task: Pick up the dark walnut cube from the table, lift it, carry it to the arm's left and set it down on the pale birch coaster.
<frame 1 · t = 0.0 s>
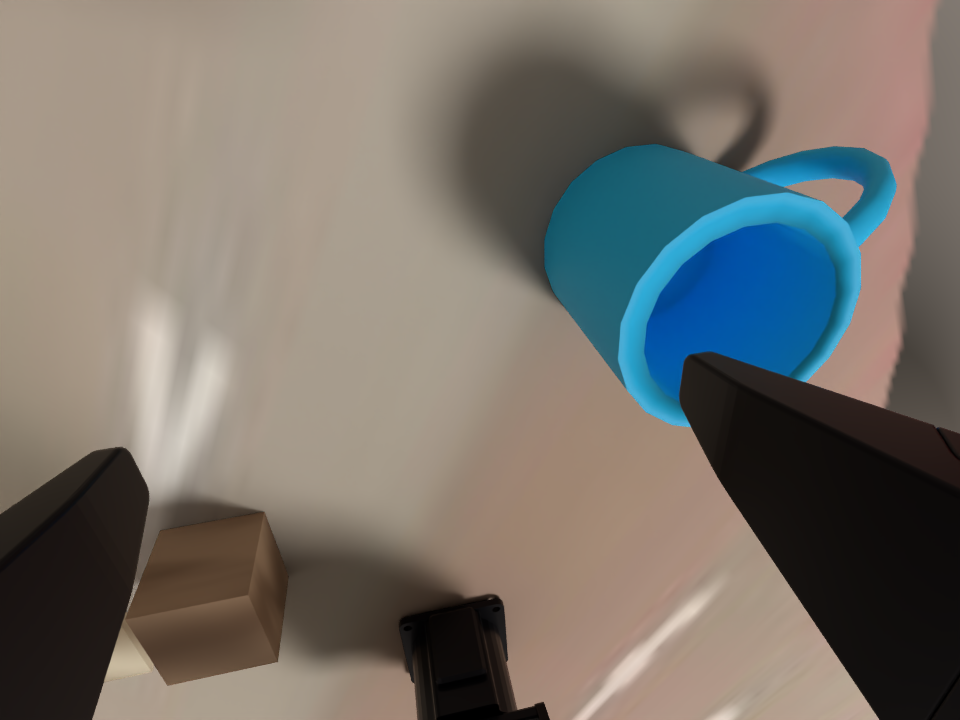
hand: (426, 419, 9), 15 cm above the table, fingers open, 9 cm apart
birch coaster: (18, 623, 29), on the table
mug: (669, 216, 24), on the table
walnut cube: (228, 553, 29), on the table
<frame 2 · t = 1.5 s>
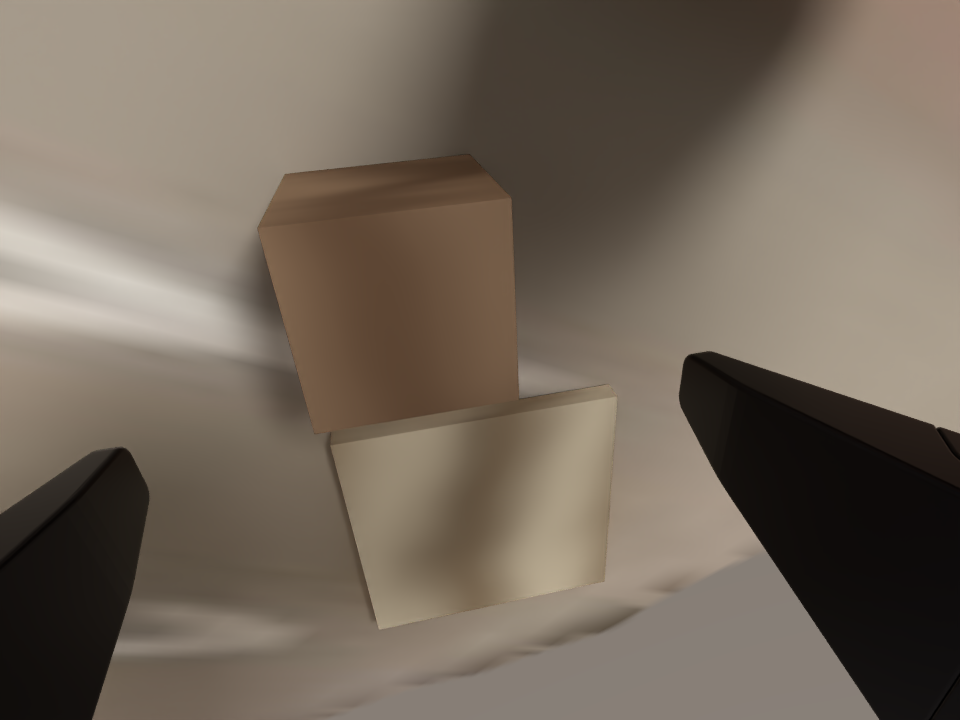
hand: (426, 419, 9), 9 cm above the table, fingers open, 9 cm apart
birch coaster: (483, 508, 22), on the table
walnut cube: (392, 250, 17), on the table
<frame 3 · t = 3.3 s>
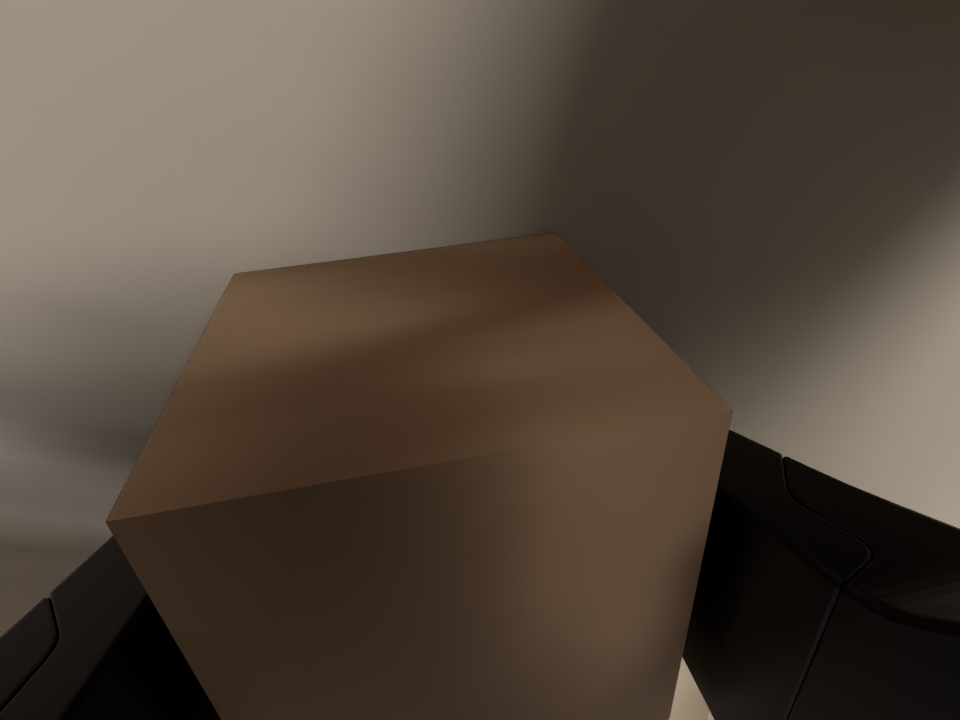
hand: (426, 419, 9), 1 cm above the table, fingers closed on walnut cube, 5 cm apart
birch coaster: (537, 696, 16), on the table
walnut cube: (420, 386, 10), on the table, touching gripper
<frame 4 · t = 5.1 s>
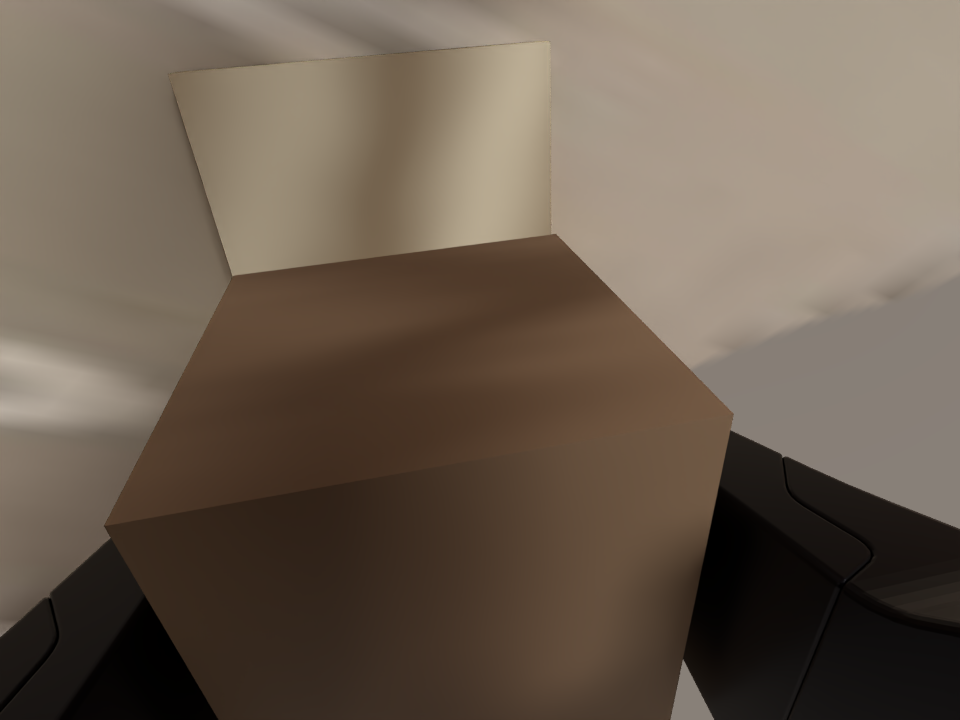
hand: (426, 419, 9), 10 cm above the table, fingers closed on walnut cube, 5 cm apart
birch coaster: (393, 232, 18), on the table
walnut cube: (420, 387, 10), point 9 cm above the table, touching gripper
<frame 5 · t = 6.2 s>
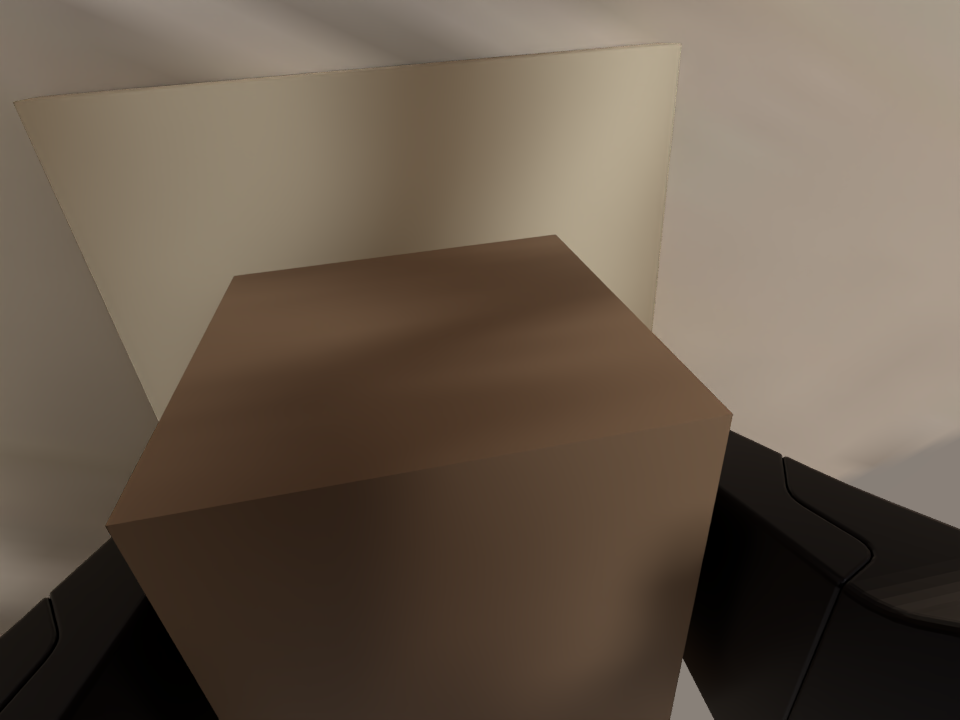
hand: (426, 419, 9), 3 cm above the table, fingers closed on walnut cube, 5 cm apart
birch coaster: (411, 336, 12), on the table
walnut cube: (420, 387, 10), point 2 cm above the table, touching gripper
when the fingers open (3 cm above the table, at t = 6.9 s): walnut cube drops 1 cm, resting on birch coaster.
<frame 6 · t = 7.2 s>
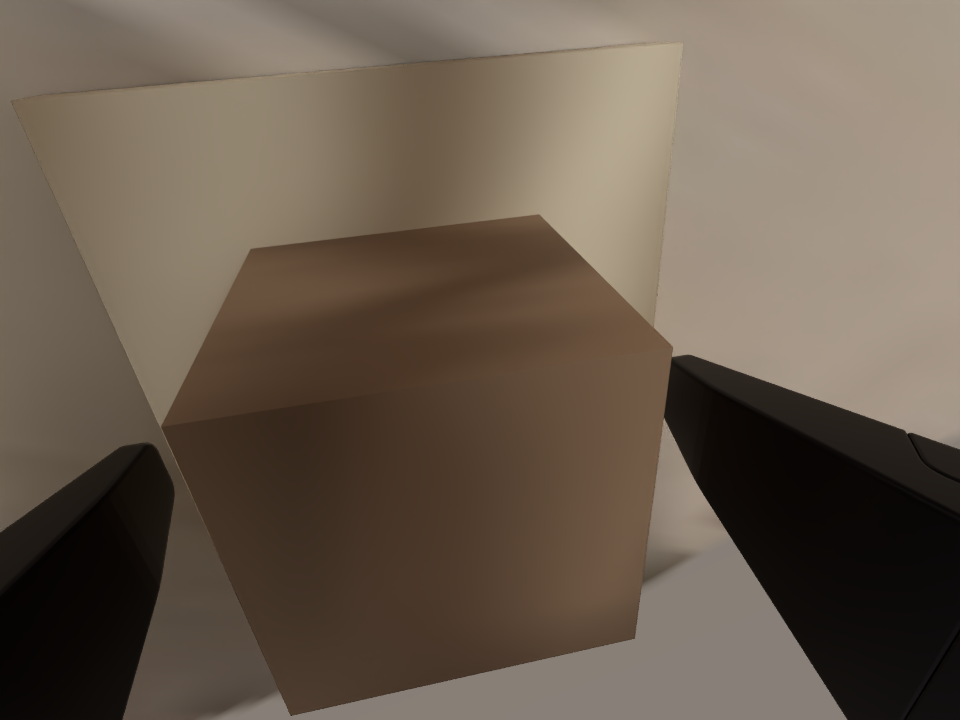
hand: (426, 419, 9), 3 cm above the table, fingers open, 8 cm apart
birch coaster: (411, 336, 12), on the table
walnut cube: (417, 355, 11), point 1 cm above the table, touching birch coaster
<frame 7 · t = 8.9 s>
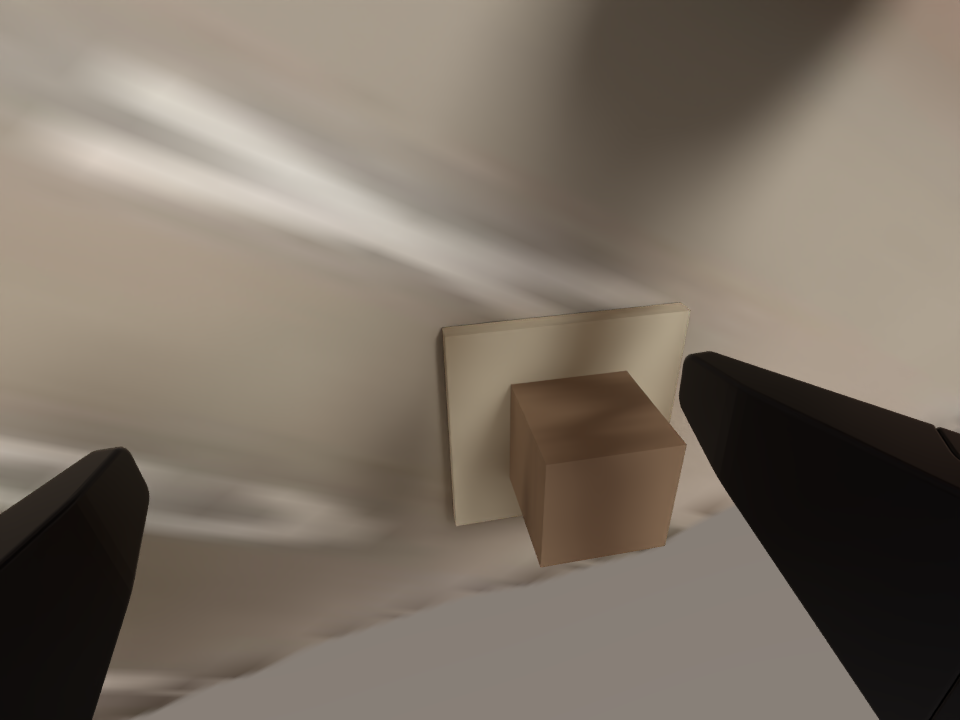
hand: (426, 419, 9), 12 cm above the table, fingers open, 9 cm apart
birch coaster: (559, 415, 25), on the table
walnut cube: (565, 426, 24), point 1 cm above the table, touching birch coaster
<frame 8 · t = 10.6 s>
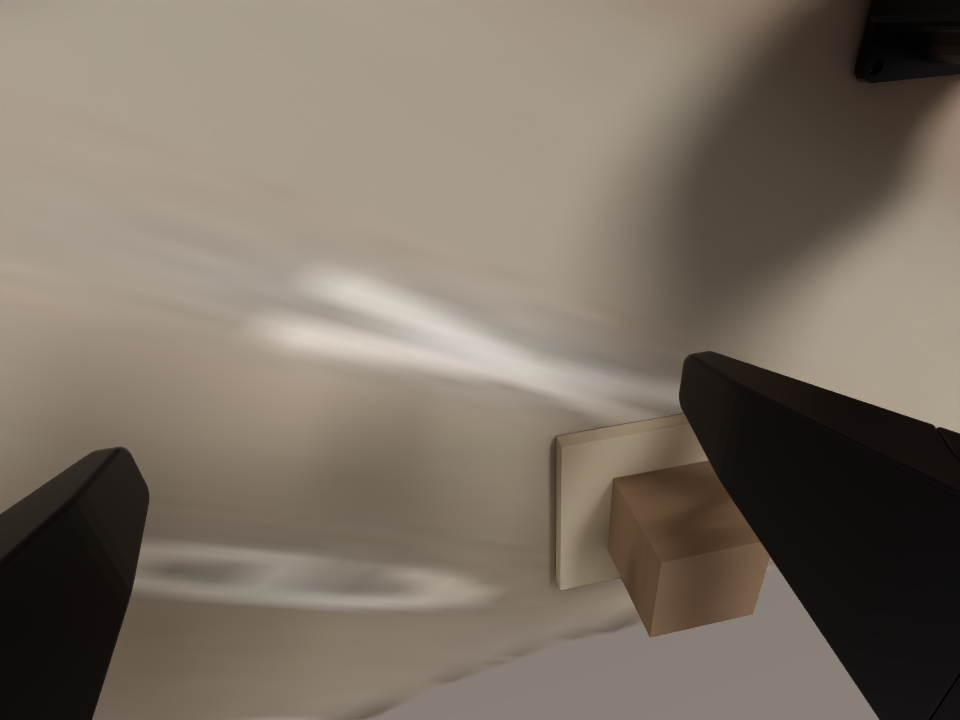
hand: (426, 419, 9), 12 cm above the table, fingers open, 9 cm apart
birch coaster: (649, 495, 29), on the table
walnut cube: (657, 506, 28), point 1 cm above the table, touching birch coaster
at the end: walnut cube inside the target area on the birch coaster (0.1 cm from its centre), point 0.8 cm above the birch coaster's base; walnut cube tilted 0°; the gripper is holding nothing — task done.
